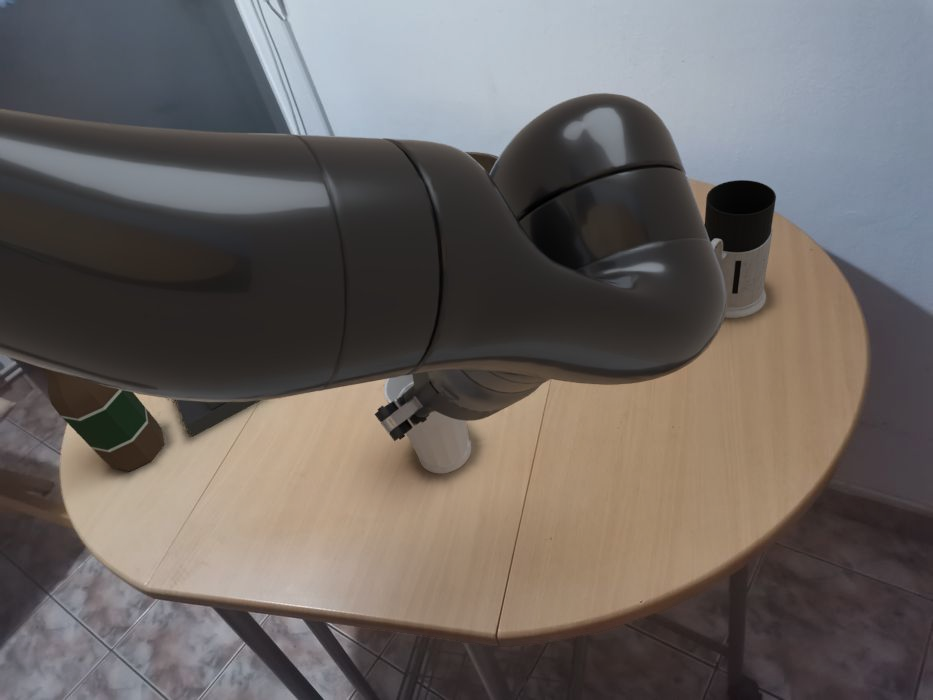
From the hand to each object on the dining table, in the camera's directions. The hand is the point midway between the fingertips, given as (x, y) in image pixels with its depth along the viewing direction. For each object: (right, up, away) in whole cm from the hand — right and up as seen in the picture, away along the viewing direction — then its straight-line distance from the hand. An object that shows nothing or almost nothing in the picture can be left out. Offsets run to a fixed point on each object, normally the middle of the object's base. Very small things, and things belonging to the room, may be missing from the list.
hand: (427, 399), depth 56 cm
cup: (+1, -8, +20) cm, 21 cm away
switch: (-30, -1, +35) cm, 46 cm away
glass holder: (+37, +10, +28) cm, 47 cm away
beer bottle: (-40, -9, +30) cm, 51 cm away
